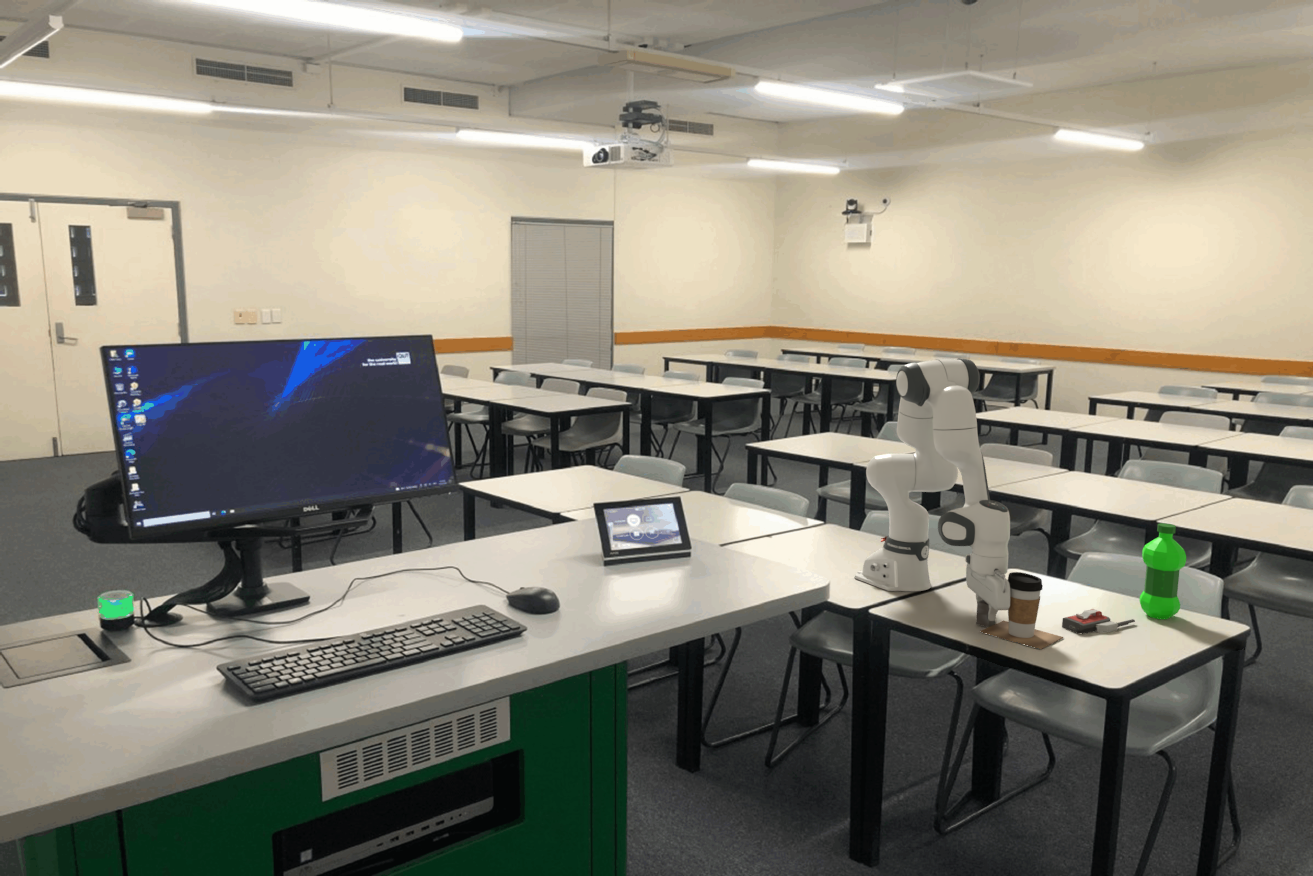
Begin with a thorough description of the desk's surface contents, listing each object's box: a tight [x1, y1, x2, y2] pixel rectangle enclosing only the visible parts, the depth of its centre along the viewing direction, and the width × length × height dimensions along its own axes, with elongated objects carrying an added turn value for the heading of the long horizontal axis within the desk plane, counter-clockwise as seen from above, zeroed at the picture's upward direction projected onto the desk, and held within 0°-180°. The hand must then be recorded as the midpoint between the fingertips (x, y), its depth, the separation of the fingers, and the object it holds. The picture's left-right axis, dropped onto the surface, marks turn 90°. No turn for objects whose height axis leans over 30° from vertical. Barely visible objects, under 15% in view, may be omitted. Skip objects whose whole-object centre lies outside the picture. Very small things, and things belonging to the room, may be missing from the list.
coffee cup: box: [1007, 571, 1044, 638], centre depth 241 cm, size 8×8×15 cm
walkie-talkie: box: [1061, 608, 1136, 635], centre depth 249 cm, size 9×4×20 cm
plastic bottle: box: [1138, 522, 1187, 620], centre depth 255 cm, size 10×10×25 cm
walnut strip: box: [975, 600, 1064, 650], centre depth 243 cm, size 20×12×6 cm, turn 42°
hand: (986, 615), depth 248 cm, fingers closed on walnut strip, 5 cm apart
